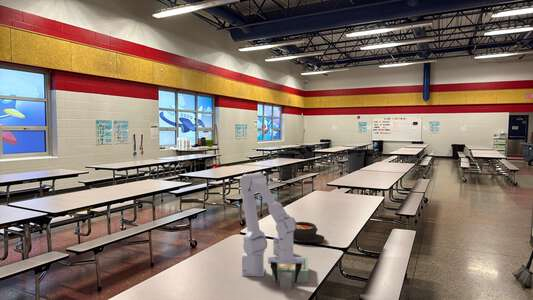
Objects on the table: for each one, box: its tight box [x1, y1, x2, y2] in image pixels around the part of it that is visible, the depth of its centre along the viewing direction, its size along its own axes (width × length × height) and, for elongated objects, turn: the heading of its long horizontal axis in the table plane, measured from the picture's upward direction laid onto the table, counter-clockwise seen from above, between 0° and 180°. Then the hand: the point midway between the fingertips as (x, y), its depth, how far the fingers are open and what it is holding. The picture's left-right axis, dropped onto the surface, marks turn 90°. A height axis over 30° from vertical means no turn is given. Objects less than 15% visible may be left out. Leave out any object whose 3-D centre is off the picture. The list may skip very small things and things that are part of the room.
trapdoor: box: [277, 263, 305, 269], centre depth 142 cm, size 12×11×3 cm
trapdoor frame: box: [271, 255, 309, 284], centre depth 142 cm, size 15×14×6 cm
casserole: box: [293, 221, 325, 244], centre depth 187 cm, size 25×19×8 cm
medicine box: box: [272, 235, 279, 256], centre depth 166 cm, size 8×4×9 cm, turn 141°
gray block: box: [279, 272, 293, 291], centre depth 130 cm, size 4×4×5 cm
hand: (286, 281), depth 130 cm, fingers open, 7 cm apart
